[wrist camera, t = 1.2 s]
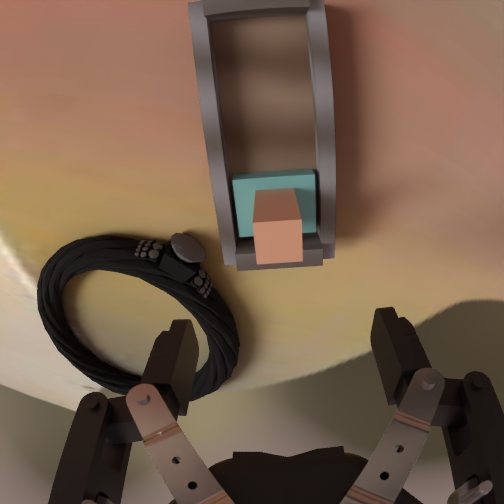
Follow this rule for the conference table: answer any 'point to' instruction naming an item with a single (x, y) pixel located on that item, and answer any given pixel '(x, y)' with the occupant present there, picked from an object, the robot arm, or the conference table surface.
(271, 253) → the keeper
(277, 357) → the conference table surface
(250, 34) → the board
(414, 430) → the robot arm
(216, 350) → the cable lock
